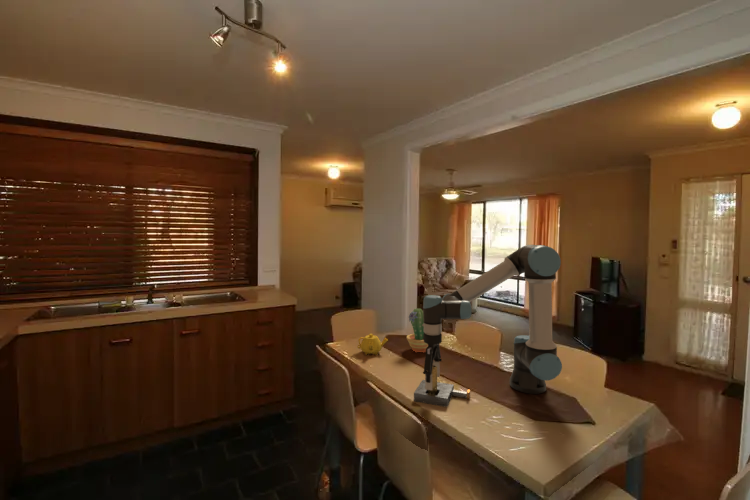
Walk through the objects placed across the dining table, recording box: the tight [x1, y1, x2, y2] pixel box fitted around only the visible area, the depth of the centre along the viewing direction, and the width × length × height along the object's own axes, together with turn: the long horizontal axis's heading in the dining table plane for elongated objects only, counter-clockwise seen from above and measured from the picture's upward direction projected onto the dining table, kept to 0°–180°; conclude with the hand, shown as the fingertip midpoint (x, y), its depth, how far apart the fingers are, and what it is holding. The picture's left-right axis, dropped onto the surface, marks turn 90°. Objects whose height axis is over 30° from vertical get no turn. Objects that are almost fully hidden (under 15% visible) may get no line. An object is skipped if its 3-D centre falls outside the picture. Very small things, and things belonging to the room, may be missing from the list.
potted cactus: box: [406, 308, 428, 353], centre depth 207 cm, size 15×15×25 cm
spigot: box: [428, 365, 438, 395], centre depth 146 cm, size 4×4×14 cm
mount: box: [413, 379, 455, 408], centre depth 149 cm, size 14×14×4 cm
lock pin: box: [452, 389, 471, 400], centre depth 150 cm, size 13×3×3 cm, turn 67°
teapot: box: [357, 333, 389, 356], centre depth 204 cm, size 14×14×11 cm
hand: (432, 382), depth 146 cm, fingers open, 13 cm apart
